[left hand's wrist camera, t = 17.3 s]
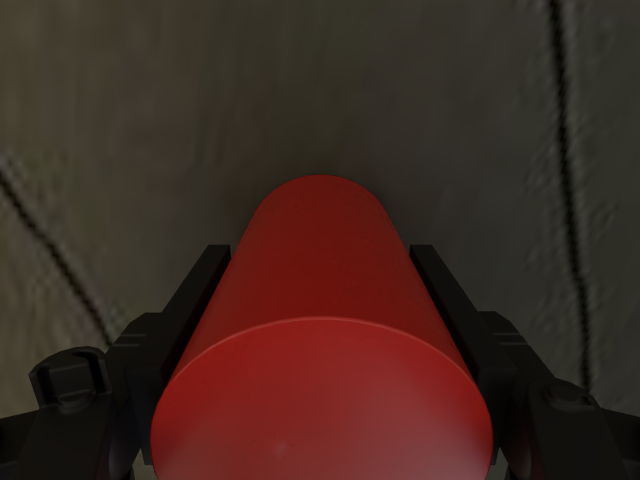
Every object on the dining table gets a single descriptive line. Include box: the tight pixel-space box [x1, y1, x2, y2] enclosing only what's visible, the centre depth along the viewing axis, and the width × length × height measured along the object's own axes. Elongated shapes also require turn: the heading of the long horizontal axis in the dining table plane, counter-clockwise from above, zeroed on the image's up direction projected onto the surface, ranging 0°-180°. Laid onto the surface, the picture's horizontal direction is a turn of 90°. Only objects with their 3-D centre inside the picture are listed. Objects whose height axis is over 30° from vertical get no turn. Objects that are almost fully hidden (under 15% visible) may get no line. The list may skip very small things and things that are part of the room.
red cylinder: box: [150, 175, 493, 480], centre depth 12 cm, size 6×6×10 cm
